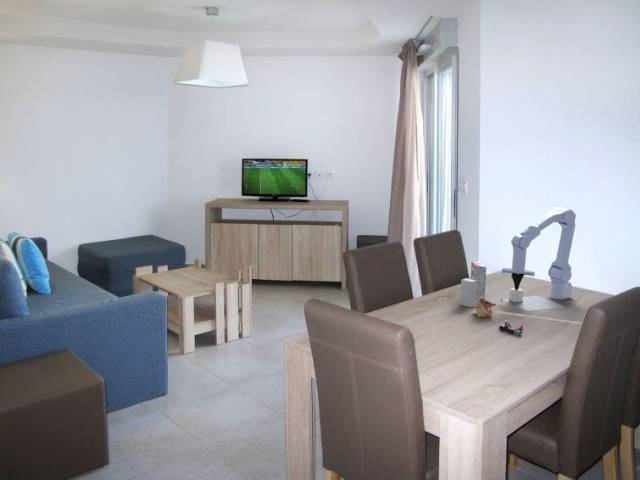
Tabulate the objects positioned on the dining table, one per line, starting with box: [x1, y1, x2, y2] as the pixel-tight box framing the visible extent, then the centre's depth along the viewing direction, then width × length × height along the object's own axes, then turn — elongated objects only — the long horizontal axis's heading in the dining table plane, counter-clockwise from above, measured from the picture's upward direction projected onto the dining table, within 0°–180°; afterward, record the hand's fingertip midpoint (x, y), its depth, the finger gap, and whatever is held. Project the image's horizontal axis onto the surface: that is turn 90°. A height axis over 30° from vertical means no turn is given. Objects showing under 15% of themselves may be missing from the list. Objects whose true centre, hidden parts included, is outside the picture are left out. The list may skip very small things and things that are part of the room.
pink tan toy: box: [473, 296, 497, 319], centre depth 267 cm, size 9×10×10 cm
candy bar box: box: [470, 260, 487, 300], centre depth 295 cm, size 11×5×16 cm, turn 179°
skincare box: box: [460, 278, 477, 308], centre depth 281 cm, size 6×4×12 cm
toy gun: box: [498, 319, 524, 337], centre depth 247 cm, size 10×12×5 cm
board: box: [500, 295, 565, 312], centre depth 285 cm, size 21×19×1 cm
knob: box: [508, 287, 524, 302], centre depth 287 cm, size 6×6×5 cm
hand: (516, 289), depth 286 cm, fingers closed
